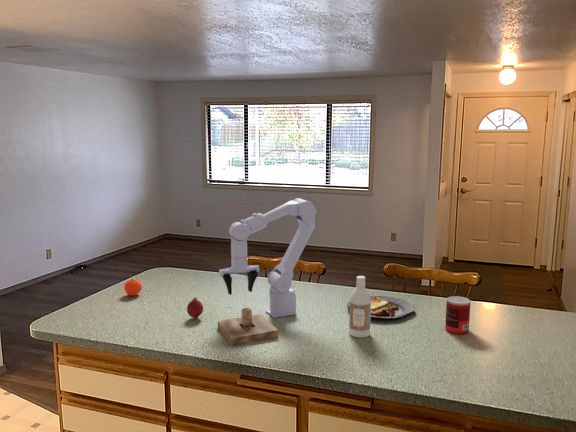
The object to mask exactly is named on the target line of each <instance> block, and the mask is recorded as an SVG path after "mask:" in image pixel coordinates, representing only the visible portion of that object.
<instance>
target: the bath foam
mask: <svg viewBox="0 0 576 432" xmlns="http://www.w3.org/2000/svg"><path fill="white" fill-rule="evenodd" d="M355 280H356V281H355V282H356V283H355V284H356V285H355V288H354V289H353V291H352V292H351V294H350V297H349V301H350V309H349V321H348V322H349V327H348V328H349V331H348V332H349V334H350V336H351V337H354V338H360V339H362V338H363V339H364V338H367V337H369V336H370V335H371V318H372V317H371V298H370V296H371V295H370V293H369V291H368V289H366V276H364V275H357V276H356V279H355Z"/></svg>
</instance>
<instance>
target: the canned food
mask: <svg viewBox="0 0 576 432" xmlns="http://www.w3.org/2000/svg"><path fill="white" fill-rule="evenodd" d="M445 306H446V307H445V325H444V327H445V330H446V331H447V333H449V334H452V335H458V336H459V335H466V334H467V333H468V332H469V330H470V316H471V315H470V314H471V299H469V298H468V297H465V296H459V295H455V296H454V295H452V296H451V295H450V296H448V297H447V298H446V305H445Z"/></svg>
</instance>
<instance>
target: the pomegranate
mask: <svg viewBox="0 0 576 432" xmlns="http://www.w3.org/2000/svg"><path fill="white" fill-rule="evenodd" d="M186 312H187V314H188V315H189V317H191V318H194V319H195V318H196V319H197V318H199V317H200V316H201V315H202V313H203V312H204V305H203V303H202V302H201V301H200V300H199V299H198V298H197V297H196V296H194V297H193V298H192V300H191V301H189V302H188V304H187V307H186Z"/></svg>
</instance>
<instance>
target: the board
mask: <svg viewBox="0 0 576 432" xmlns="http://www.w3.org/2000/svg"><path fill="white" fill-rule="evenodd" d="M217 328H218V330H219V331H220V332H221V334H222V336H224V337H225V339H226V340H227V342H228V343H229V344H230V345H231V346H233V347H234V346H237V345H243V344H248V343H249V344H250V343H253V342H258V341H259V342H260V341H265V340H270V339H276V338H279V329H278V328H277V327H275V326H274V325H273V324H272V323H271V322H270V321H269V320H268V319H267V318H266V317H265V316H263V315H262V314H261V313H260V314H259V313H258V314H252V325H251V328H246V329H243V326H242V316H241V317H235V318H229V319H222V320H217Z"/></svg>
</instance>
